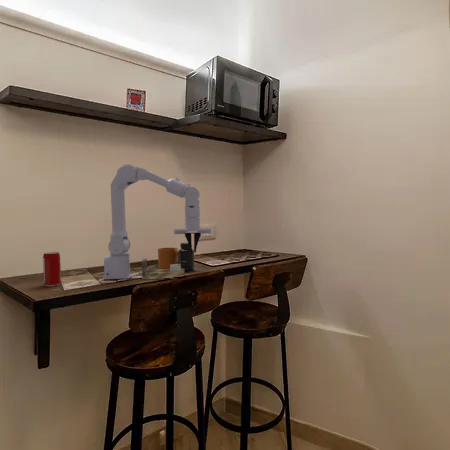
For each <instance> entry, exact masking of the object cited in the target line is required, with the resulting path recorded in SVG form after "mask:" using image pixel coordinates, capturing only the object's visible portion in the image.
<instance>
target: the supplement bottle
mask: <svg viewBox="0 0 450 450" xmlns="http://www.w3.org/2000/svg"><path fill="white" fill-rule="evenodd" d="M191 244H192V242H191ZM178 264H181V269H184V271H185V273H191V272H194V271H195V252H194V248H192V253H190V247H189V244H188V242H180V249H179V250H178Z"/></svg>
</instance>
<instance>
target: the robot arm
mask: <svg viewBox="0 0 450 450" xmlns="http://www.w3.org/2000/svg"><path fill="white" fill-rule="evenodd" d="M138 181H150V182H153V183H155V184H157V185H160V186H162V187H165V190H166V192H167V193H170V194H172V195H174V196H177V197H179V198H182V199H183V198H184V199H185V205H184V217H185V218H184V225H185V226H184V228H174V229H173V235H184V237H185V239H186V241H187V243H188V244H189V247H190V253H192V249H193V250H194V253H197V247H198V243H199V241H200V238H201V234H202V235H203V234H209V235H210V234H212V228H200V227H201V226H200V225H201V222H200V221H201V219H200V218H201V217H200V212H201V211H200V210H201V209H200V199H199V198H200V191H199V190H198V188H196V187H194V186H191V184H190V183H187V184H186V183H185V182H183V181H180V178H178V177H176V178H173V177H172V178H170V179H167V178H165V177H163V176H161V175H159V174H157V173H154V172H152V171H150V170H148V169H146V168H143V167H140V166H136V165H135V166H134V165H133V164H130V163H126V164H123V165H122V166H120V167H119V168H118V169H117V171H116V174H115V176H114V177H113V179H112V181H111V183H110V203H111V228H112V230H111V234H110V240H109V243H108V245H107V246H108V247H107V248H108V251H109V252H110V254H109V255H107V254H106V255H105V256H104V259H103V269H104V270H103V271H104V272H103V273H104V274H103V275H104V277H103V279H104V280H117V279H118V280H119V279H120V280H121V279H123V280H124V279H130V278H131V277H132V275H133V273H131V265H130V264H131V263H130V261H131V260H130V252H129V250H130V248H131V242H130V240H129V238H128V236H129V235H128V232H127V227H126V225H127V224H126V223H127V222H126V201H125V199H126V198H125V195H126V194H125V190H127V188H129V187H130V186H131V185H133V184H135V183H137V182H138ZM192 234H193V245H192V244H191V243H192Z"/></svg>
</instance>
